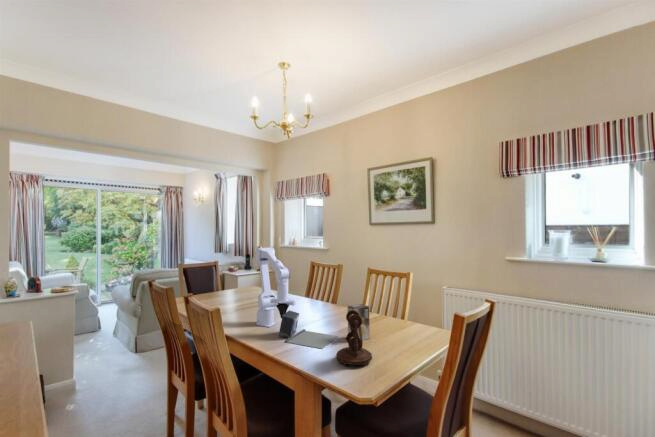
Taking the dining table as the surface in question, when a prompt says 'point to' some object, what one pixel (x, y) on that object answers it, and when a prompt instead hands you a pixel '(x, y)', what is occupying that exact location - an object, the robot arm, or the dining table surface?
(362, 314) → the coffee box
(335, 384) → the dining table surface
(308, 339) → the mat
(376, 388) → the dining table surface
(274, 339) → the dining table surface
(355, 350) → the brown tall round-based figurine
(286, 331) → the small box
